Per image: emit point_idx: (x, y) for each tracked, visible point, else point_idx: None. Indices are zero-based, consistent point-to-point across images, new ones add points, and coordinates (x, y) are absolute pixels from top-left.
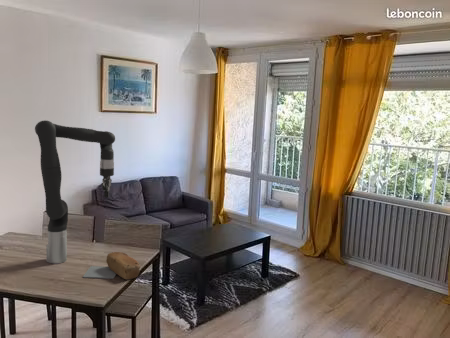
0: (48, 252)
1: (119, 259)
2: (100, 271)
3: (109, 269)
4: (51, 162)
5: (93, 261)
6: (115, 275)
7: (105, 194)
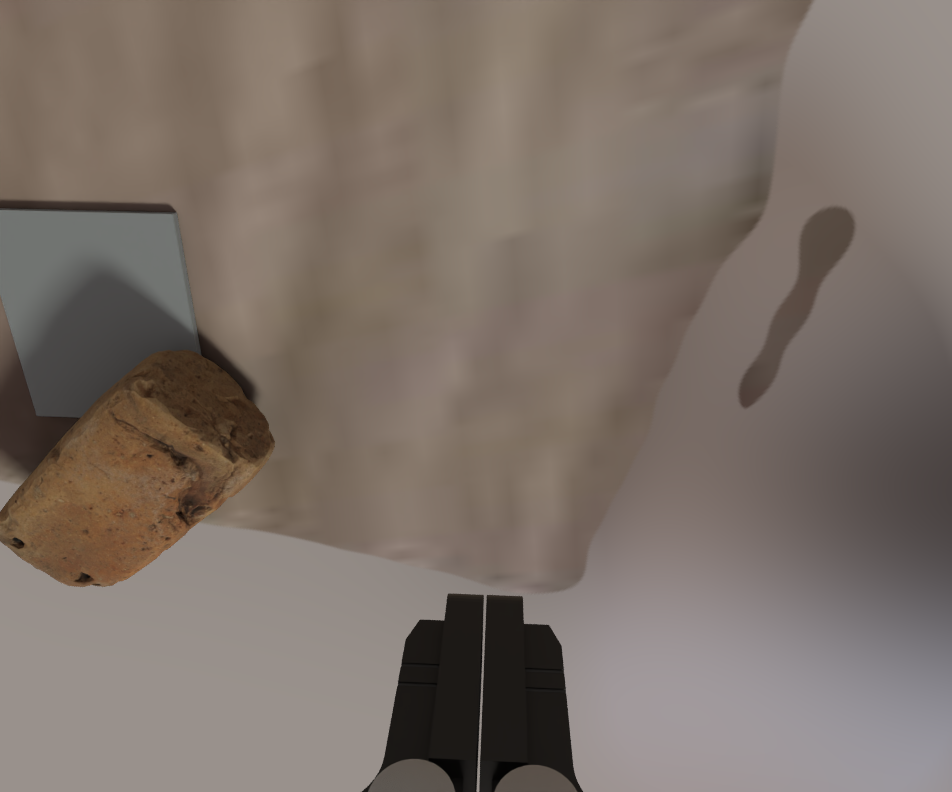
0: None
1: (58, 487)
2: (99, 311)
3: None
4: None
5: (292, 199)
6: None
7: (402, 693)
